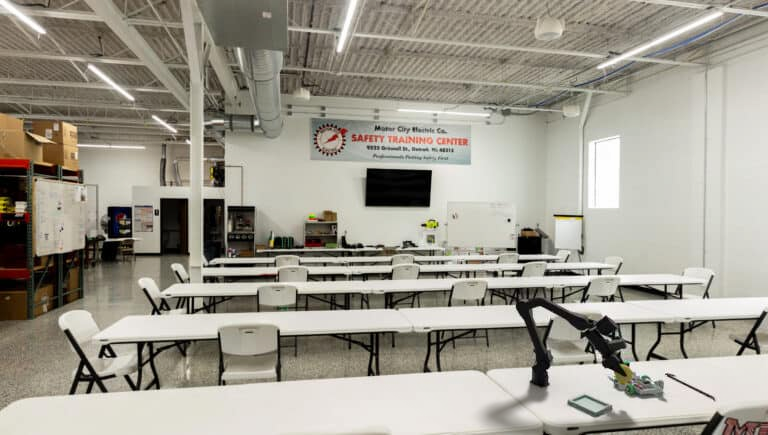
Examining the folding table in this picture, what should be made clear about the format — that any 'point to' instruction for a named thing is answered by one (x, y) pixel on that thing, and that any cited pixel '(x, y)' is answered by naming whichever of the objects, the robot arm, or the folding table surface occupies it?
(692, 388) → the crowbar
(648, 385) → the robot kit
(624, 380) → the light bulb
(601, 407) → the tray
